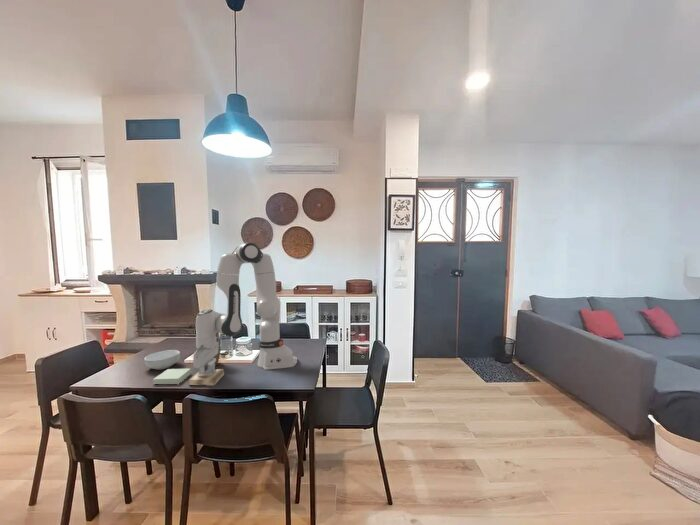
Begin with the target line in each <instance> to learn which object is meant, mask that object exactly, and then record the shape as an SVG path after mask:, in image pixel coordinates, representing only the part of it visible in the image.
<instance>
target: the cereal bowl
mask: <svg viewBox="0 0 700 525" xmlns="http://www.w3.org/2000/svg"><path fill="white" fill-rule="evenodd" d="M180 357H181V352H180V351H179V349H178V350H177V349H168V350H167V349H166V350H162V351H161V350H160V351H156V352H154V353H150V354H148V355H146V356H144V360H143V361H144V364H145V366H146V367H147V368H149V369H152V370H153V369H155V370H165V369H166V370H167V369H170V367H172V366H173V365H175V364H176V363H177V362H179V360H180Z"/></svg>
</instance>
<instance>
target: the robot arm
mask: <svg viewBox="0 0 700 525" xmlns="http://www.w3.org/2000/svg"><path fill="white" fill-rule="evenodd" d="M273 263H274V262H273V260H272V258H271V256H270V254H268V253H263V251H262V250H261V249H260V247H259V246H258V245H257V244H256V243H255V242H249V241H248V242H244V243H241V244H239V245H238V246H236V248H235V249H234V250H233V252H232V253H231V252H230V253H225V254H223V255H221V257H220V259H219V262H218V266H217V273H216V279H215V280H216V281H215V282H216V286H217V287H218V289H220V290H221V291H222V293H223V294H224V295H225V296H226V299H227V309H226V310H227V313H221V312H218V311H214V309H204V310H201V311H199V312H198V313H197V314H196V318H195V331H196V335H195V346H196V351H194V354H193V358H192V360H193V361H192V362H193V363H192V364H193V365H192V366H193V368H194V369H199V368H200V370H201V373H205V372H206V371H205V370H206V369H205V368H204V366H205V364H206V363H207V362H208V361H209V360H211V359H212V358H214V356H215V355H217V354H218V348H219V346H220V336H219V337H216V333H220V334H223V335H225V336H227V337H235V336H237V335H238V334H239V333H240V332H241V330H242V327H243V320H242V316H241V303H242V302H241V301H242V300H241V297H242V296H241V288H240V270H241V267H242V265H243V264H250V265H252V268H253V272H254V273H253V274H254V279H255V287H256V288H255V289H256V295H255V296H256V297H255V298H256V312H257V315H258V316H259V317H260V319H259V320H260V322H259V340H258V348H259V353H258V354H259V356H258V360H257V363H256V364H257V366H258V368H259V367H260V368H261V369H262V368H263V370H275V369H276V370H278V369H286V368H287V369H288V368H293V367H294V366H296V365H297V364H298V357H297V356H294V352H293V350H292V349H291V348H290V347H289V346H286V345H285V344H284V338H281V337H280V336H281V334H280V321H281V319H280V318H281V300H280V298H279V296H277V281H276V273H275V267H274V264H273ZM218 341H219V343H218Z"/></svg>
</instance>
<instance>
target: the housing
mask: <svg viewBox="0 0 700 525" xmlns="http://www.w3.org/2000/svg"><path fill="white" fill-rule="evenodd" d="M215 361H216V358H212V359H211V360H209V361H208V362H207V363H206V364H205V366H204V368H205V369H206V370H205V371H206V372H205V373H201V370H200V368H198V372H199V373H198V374H197V377H210V376H213V375H214V374H215V373H216V369H217V368H216V365H215Z"/></svg>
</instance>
